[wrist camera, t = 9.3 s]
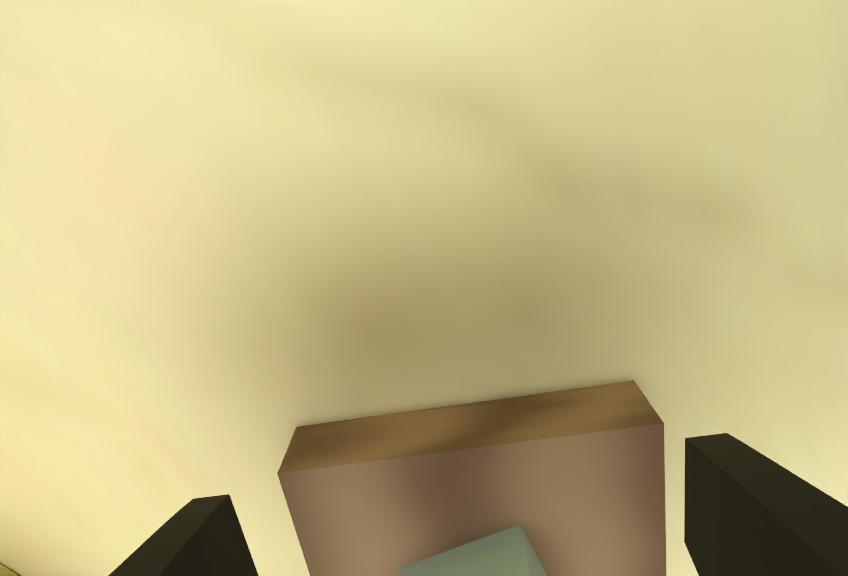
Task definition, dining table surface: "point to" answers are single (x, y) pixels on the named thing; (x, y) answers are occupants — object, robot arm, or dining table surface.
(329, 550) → the walnut box
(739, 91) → the dining table surface
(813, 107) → the dining table surface
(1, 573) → the potted cactus
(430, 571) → the sage block
